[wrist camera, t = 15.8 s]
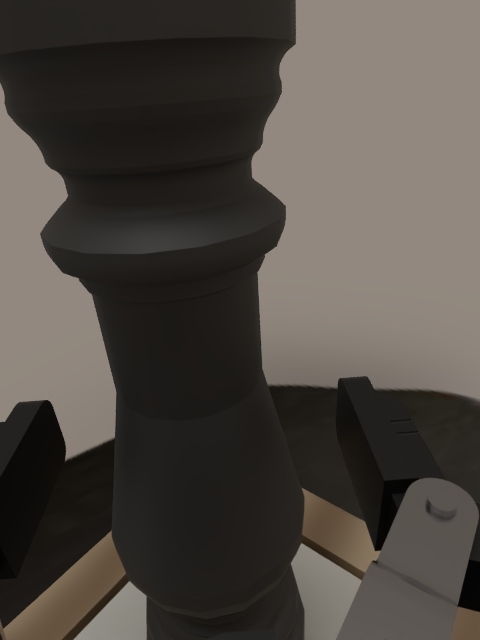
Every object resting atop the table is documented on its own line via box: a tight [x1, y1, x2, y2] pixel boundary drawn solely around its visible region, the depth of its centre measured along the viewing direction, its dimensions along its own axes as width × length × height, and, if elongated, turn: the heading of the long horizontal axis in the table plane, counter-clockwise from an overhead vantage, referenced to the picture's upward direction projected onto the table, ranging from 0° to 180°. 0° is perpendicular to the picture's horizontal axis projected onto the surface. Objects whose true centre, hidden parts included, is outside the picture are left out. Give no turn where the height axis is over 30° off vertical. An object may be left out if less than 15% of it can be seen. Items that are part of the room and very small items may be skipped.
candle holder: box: [0, 0, 305, 640], centre depth 13 cm, size 6×6×25 cm
